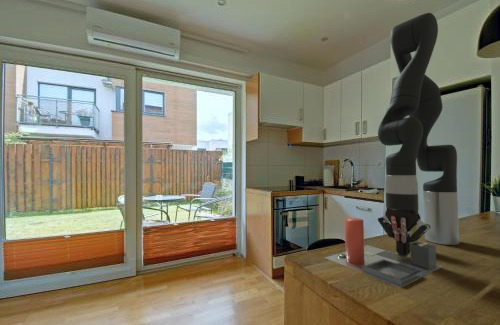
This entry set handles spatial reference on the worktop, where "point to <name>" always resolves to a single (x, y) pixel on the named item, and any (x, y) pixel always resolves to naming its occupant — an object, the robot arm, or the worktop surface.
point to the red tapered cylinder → (354, 240)
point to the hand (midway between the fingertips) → (403, 255)
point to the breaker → (423, 255)
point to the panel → (386, 266)
